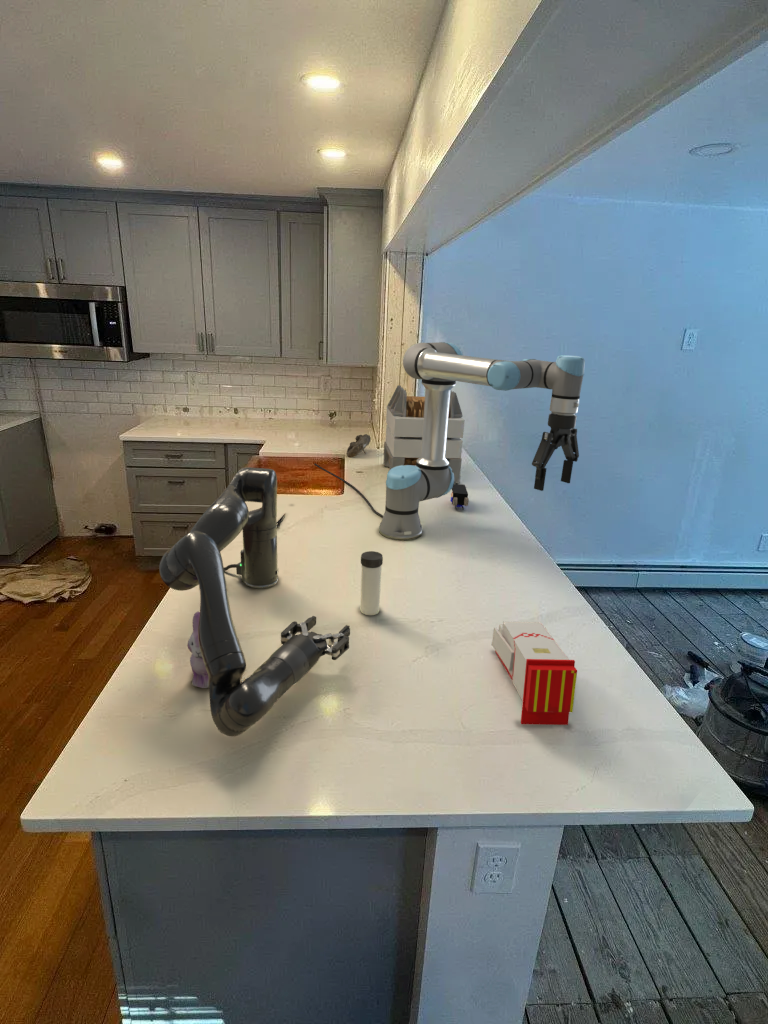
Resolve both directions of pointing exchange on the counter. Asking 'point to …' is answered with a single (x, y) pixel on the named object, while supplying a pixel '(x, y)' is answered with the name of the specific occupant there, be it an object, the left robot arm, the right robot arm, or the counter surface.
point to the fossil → (358, 445)
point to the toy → (537, 671)
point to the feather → (280, 520)
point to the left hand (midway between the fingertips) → (331, 624)
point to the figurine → (197, 657)
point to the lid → (371, 559)
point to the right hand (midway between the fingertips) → (552, 485)
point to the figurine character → (459, 496)
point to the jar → (370, 590)
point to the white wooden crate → (419, 431)
